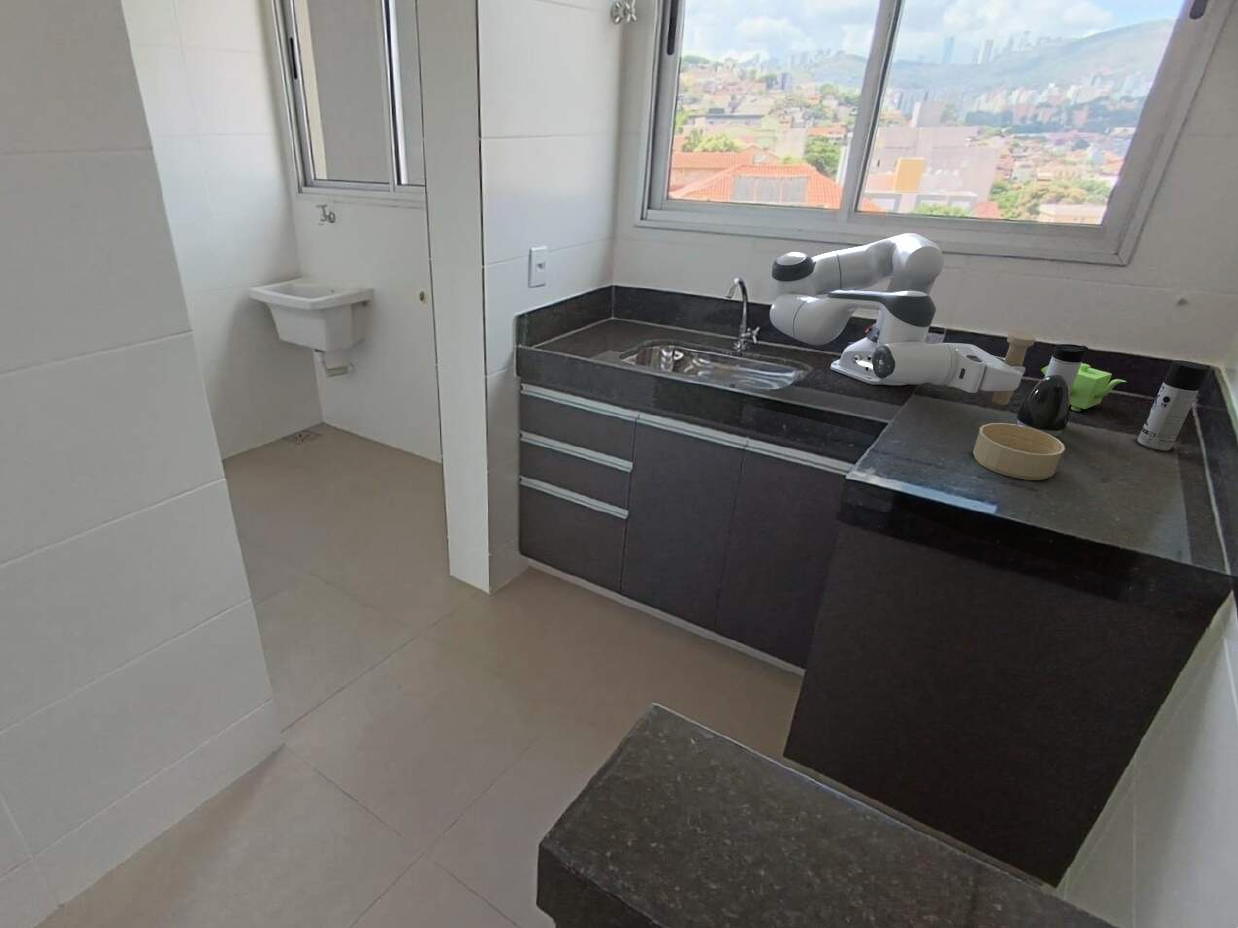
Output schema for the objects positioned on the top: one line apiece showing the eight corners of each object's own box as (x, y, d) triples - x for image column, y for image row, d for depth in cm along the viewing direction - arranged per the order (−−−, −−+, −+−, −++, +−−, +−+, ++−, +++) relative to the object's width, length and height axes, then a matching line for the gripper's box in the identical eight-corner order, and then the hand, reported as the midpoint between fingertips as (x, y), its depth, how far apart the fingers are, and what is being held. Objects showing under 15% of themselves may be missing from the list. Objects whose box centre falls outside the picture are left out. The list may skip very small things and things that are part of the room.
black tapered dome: (1015, 440, 158) (1036, 378, 151) (1009, 424, 167) (1029, 365, 160) (1064, 448, 155) (1088, 386, 148) (1055, 431, 164) (1077, 372, 157)
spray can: (1140, 436, 164) (1175, 357, 155) (1173, 446, 160) (1211, 365, 150) (1133, 444, 159) (1169, 363, 150) (1168, 454, 155) (1207, 371, 146)
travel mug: (1063, 429, 166) (1093, 350, 157) (1034, 426, 167) (1062, 347, 158) (1054, 419, 171) (1082, 343, 162) (1026, 416, 172) (1052, 340, 163)
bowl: (960, 461, 146) (968, 436, 144) (986, 440, 157) (994, 417, 154) (1042, 488, 137) (1052, 462, 134) (1063, 465, 147) (1073, 440, 144)
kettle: (1112, 417, 174) (1129, 376, 169) (1054, 412, 176) (1069, 371, 171) (1085, 397, 188) (1100, 358, 183) (1031, 392, 189) (1044, 353, 184)
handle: (988, 405, 145) (1010, 337, 138) (987, 396, 150) (1008, 330, 144) (1013, 410, 143) (1036, 341, 137) (1011, 400, 149) (1033, 334, 142)
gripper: (926, 362, 153) (985, 364, 154) (973, 396, 135) (1039, 398, 136) (934, 335, 150) (993, 338, 151) (983, 365, 132) (1050, 368, 133)
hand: (1016, 366), depth 143 cm, fingers closed on handle, 3 cm apart
